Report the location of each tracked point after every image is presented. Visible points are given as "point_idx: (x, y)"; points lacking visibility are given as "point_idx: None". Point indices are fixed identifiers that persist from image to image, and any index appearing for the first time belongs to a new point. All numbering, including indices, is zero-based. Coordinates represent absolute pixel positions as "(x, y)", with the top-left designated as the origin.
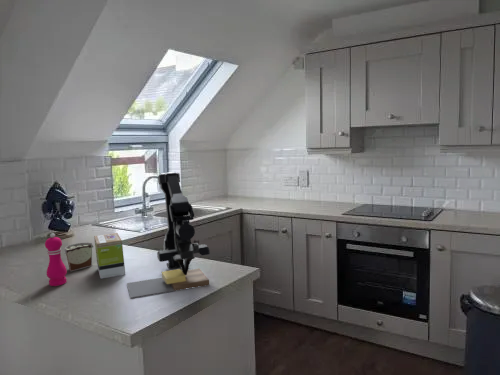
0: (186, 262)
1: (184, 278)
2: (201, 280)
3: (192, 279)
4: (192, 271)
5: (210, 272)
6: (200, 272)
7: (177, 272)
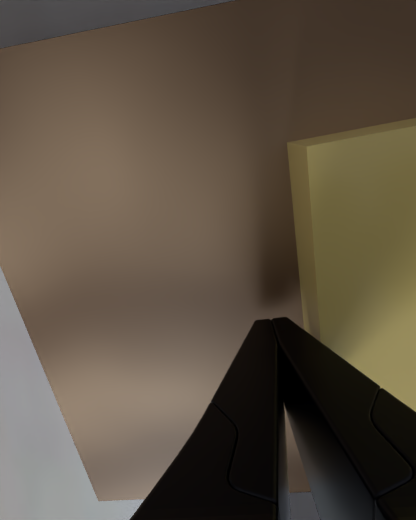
0: (271, 511)
1: (314, 141)
2: (36, 68)
3: (179, 173)
4: (170, 449)
5: (22, 440)
6: (79, 394)
7: (405, 368)
